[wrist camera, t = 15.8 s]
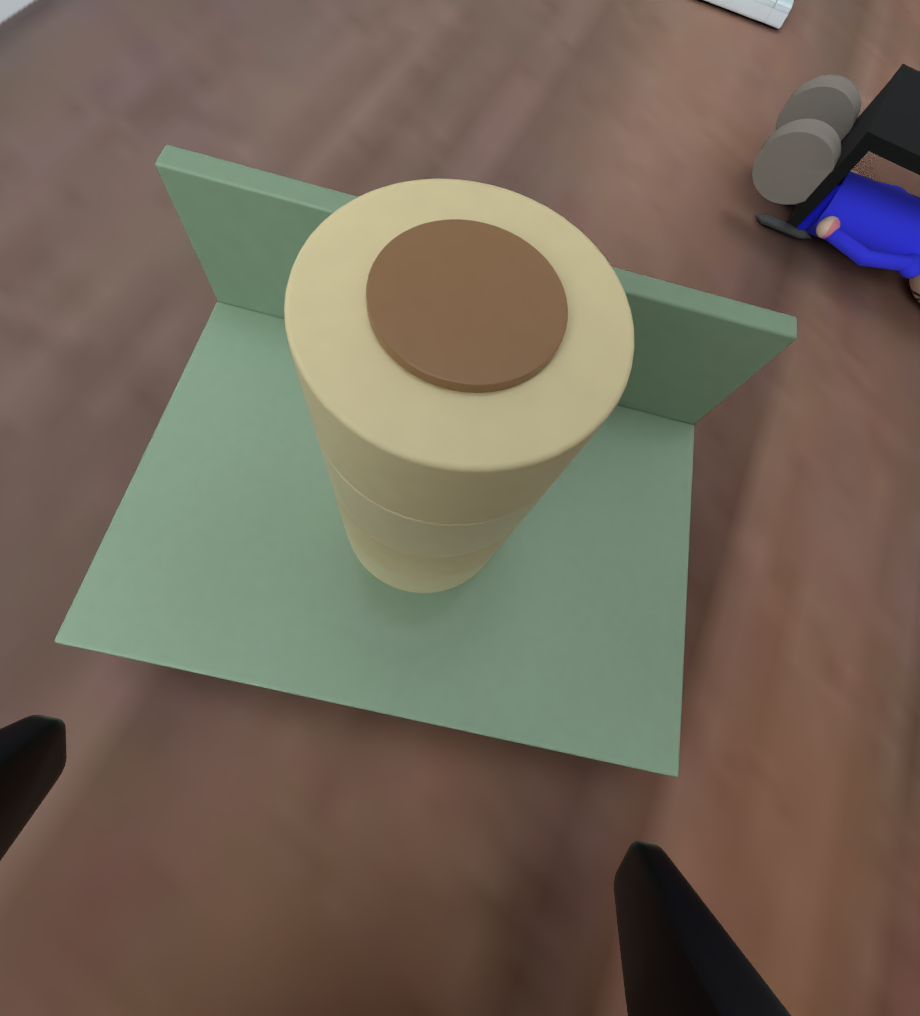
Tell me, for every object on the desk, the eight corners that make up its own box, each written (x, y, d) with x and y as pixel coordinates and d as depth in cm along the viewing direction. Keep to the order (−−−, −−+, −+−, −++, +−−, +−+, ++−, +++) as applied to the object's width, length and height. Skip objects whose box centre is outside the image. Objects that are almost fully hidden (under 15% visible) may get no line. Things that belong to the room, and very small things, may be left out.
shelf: (620, 757, 18) (819, 827, 10) (126, 649, 17) (-131, 623, 9) (645, 451, 23) (798, 316, 14) (253, 351, 22) (165, 142, 13)
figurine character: (703, 247, 29) (963, 358, 27) (785, 101, 22) (1148, 233, 20) (740, 184, 32) (982, 280, 29) (825, 33, 25) (1155, 144, 22)
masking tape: (462, 620, 15) (576, 532, 6) (315, 550, 15) (198, 354, 6) (522, 485, 17) (682, 251, 8) (390, 422, 17) (389, 117, 8)
